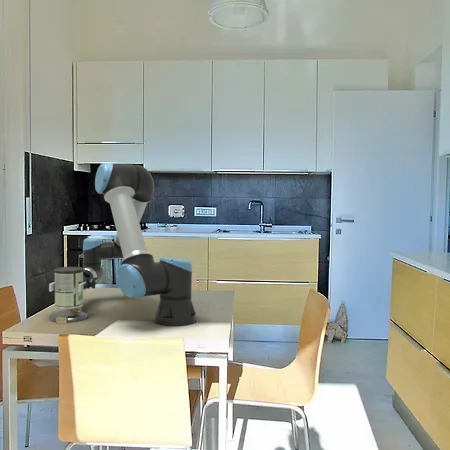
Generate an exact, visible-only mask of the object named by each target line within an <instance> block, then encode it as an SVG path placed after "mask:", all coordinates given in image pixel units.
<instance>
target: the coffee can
mask: <svg viewBox="0 0 450 450" xmlns="http://www.w3.org/2000/svg"><path fill="white" fill-rule="evenodd" d="M53 271H54V280H55V290H54V308H55V309H58V310H59V309H60V310H70V309H74V308H82V307H83V306H84V290H83V291H82V292H78V285H79V284H81V283H83V266H82V267H81V266H62V267H56V268H54V270H53Z"/></svg>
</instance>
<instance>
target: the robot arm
mask: <svg viewBox="0 0 450 450" xmlns="http://www.w3.org/2000/svg"><path fill="white" fill-rule="evenodd" d="M94 179H95V180H94V188H95V191H96V192H97V194H100V195H103V199H104V201H105V202H106V203H108V204H109V205H110V210H111V213H112V218H113V222H114V225H115V229H116V234H115V237H114V240H113V241H102V239H101V238H99V237H88V238H84V240H83V244H82V260H83V261H82V268H83V283H81V284H79V285H78V292H82V291H83V292H84V291H85V290H89V289H91V288H92V290H93V289H96V285H97V284H98V282H99V281H100V280H102V279H103V277H104V268H103V267H102V260H118V259H119V260H120V259H122V260H121V261H120V266H119V267H118V269H117V271H116V272H117V273H116V276H117V284H118V287H119V289H120V292H122V293H123V295H124V296H126V297H128V298H131V299H132V298H143V297H148V296H149V297H152V296H158V295H159V301H158V304H157V308H156V311H155V314H154V322H155V323H156V324H159V325H162V326H163V325H164V326H170V327H171V326H187V325H192V324H193V323H196V321H197V313H196V310H195V307H194V304H193V301H192V294H193V293H192V285H193V284H192V282H193V281H192V280H193V279H192V278H193V276H192V275H193V268H192V267H193V266H192V263H191V261H190V260H188V259H184V258H175V257H165V256H164V257H160V258H159V261H155V260H154V259H155V258H154V256H153V254H151V253H150V252H148V250H147V246H146V242H145V239H144V235H143V231H142V229H141V228H142V227H141V225H140V222H141V221H142V217H143V215H144V212H145V209H146V208H147V204H148V203H150V202H151V201H152V199H153V196H154V193H155V183H154V182H155V180H154V177H152V174H151V172H150V171H149V170H148V169H147V168H145V167H144V166H143V165H139V164H128V163H127V164H125V163H113V162H109V163H108V162H104V163H101V164H100V165H99V166H98V168H97V171H96V174H95V178H94ZM48 291H49V292H53V291H55V279H51V280H49V283H48Z"/></svg>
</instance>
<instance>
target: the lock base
mask: <svg viewBox="0 0 450 450" xmlns="http://www.w3.org/2000/svg"><path fill="white" fill-rule="evenodd" d="M69 310H70V311H61V312H57V313H56V312H55V313H53V314H51V315H50V322H55V324H59V325H60V324H63V325H65V324H68V323H75V322H76V323H77V322H81V321H84V320H86V319H88V313H87V312H84V311H82V307H79V308H74V309H69Z"/></svg>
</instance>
